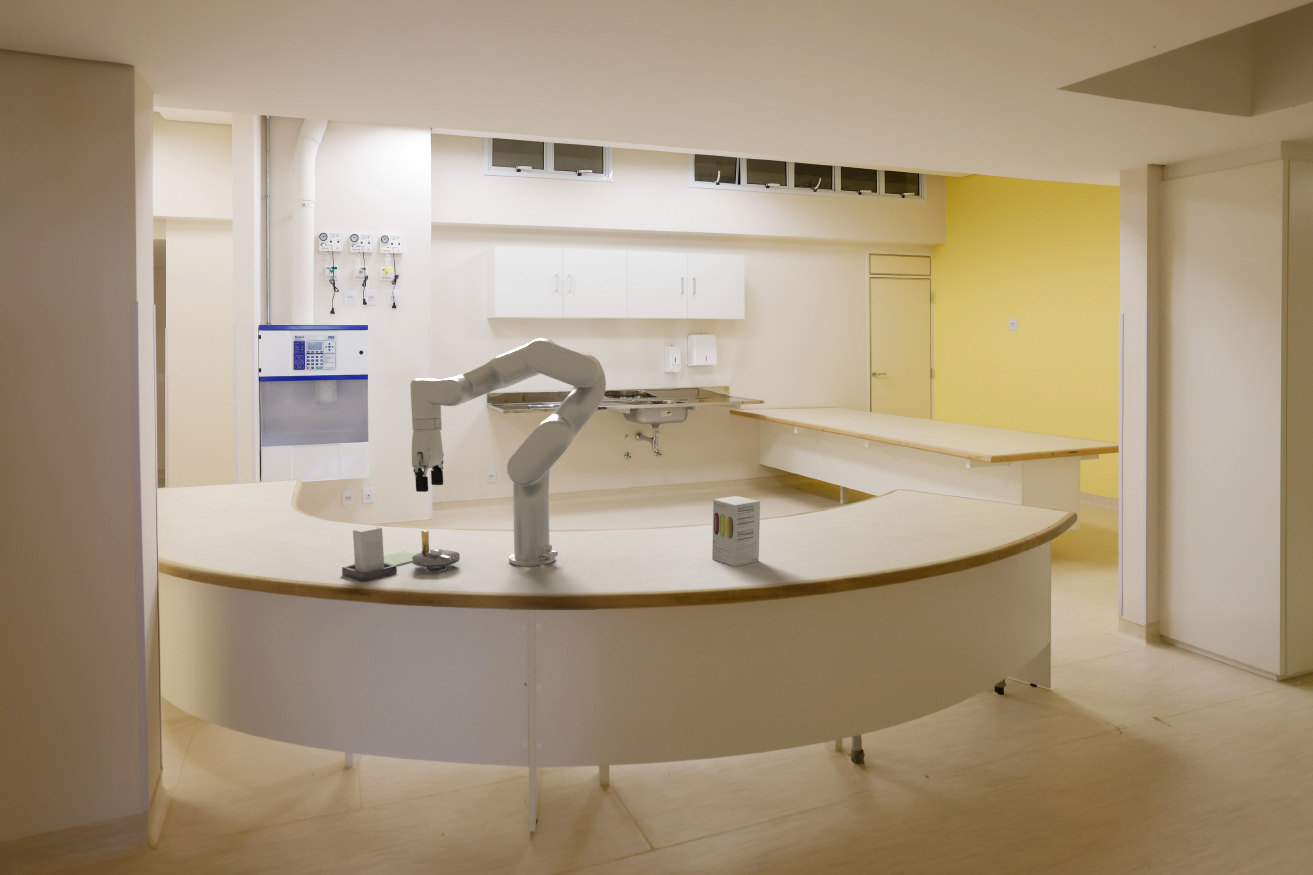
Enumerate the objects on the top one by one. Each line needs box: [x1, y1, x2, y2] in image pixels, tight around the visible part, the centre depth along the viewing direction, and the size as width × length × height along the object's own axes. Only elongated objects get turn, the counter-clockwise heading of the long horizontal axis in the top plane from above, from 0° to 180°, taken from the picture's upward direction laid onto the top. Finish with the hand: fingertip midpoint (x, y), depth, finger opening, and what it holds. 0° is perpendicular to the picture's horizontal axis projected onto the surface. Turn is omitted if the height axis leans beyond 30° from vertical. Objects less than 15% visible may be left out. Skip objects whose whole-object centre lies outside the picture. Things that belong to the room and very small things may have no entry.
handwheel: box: [412, 529, 461, 568], centre depth 216 cm, size 12×12×7 cm
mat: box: [384, 550, 417, 566], centre depth 226 cm, size 10×10×1 cm
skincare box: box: [352, 525, 385, 573], centre depth 211 cm, size 6×4×12 cm
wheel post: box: [426, 565, 447, 572], centre depth 217 cm, size 5×5×2 cm
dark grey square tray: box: [341, 562, 398, 583], centre depth 212 cm, size 10×10×2 cm
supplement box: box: [711, 495, 761, 567], centre depth 224 cm, size 10×9×17 cm
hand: (430, 488), depth 222 cm, fingers open, 9 cm apart
